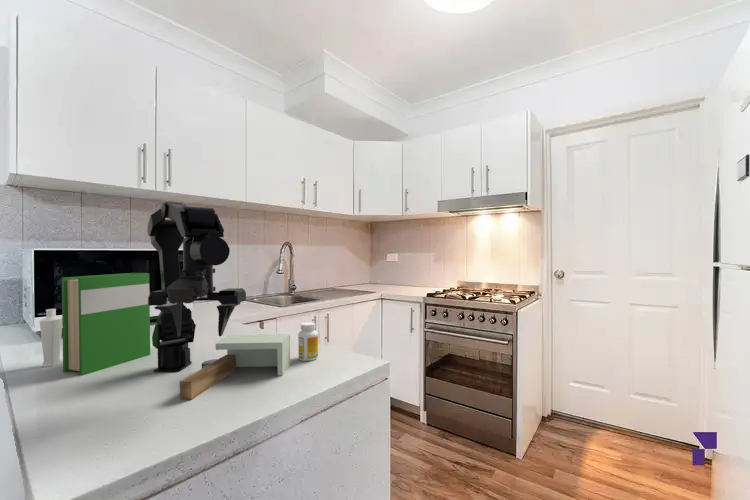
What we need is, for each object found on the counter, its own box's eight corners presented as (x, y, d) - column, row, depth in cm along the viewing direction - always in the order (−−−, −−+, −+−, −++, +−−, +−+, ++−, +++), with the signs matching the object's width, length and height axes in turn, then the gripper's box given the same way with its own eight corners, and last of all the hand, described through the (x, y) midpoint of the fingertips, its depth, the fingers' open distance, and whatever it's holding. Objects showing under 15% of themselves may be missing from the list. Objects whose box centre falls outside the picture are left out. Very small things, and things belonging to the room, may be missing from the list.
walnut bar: (180, 400, 71) (179, 381, 71) (226, 370, 89) (226, 354, 89) (191, 401, 71) (191, 381, 71) (235, 370, 88) (235, 354, 88)
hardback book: (81, 375, 85) (80, 278, 85) (63, 372, 88) (61, 277, 88) (150, 354, 102) (149, 273, 102) (132, 352, 104) (131, 272, 104)
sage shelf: (215, 376, 83) (215, 343, 83) (229, 365, 91) (228, 335, 91) (282, 375, 84) (282, 342, 84) (290, 364, 92) (289, 334, 92)
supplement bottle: (320, 355, 99) (320, 321, 99) (315, 361, 94) (314, 325, 94) (302, 355, 100) (301, 321, 100) (295, 361, 94) (295, 325, 94)
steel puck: (197, 375, 85) (197, 365, 85) (209, 368, 90) (209, 358, 90) (216, 376, 84) (216, 365, 84) (227, 369, 89) (227, 359, 89)
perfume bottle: (35, 366, 92) (34, 310, 92) (55, 361, 96) (55, 307, 96) (45, 368, 91) (44, 311, 91) (65, 363, 95) (64, 308, 95)
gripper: (129, 267, 67) (130, 347, 67) (226, 265, 67) (227, 345, 67) (163, 264, 78) (164, 333, 78) (246, 263, 79) (247, 332, 79)
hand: (199, 336), depth 75 cm, fingers open, 9 cm apart
